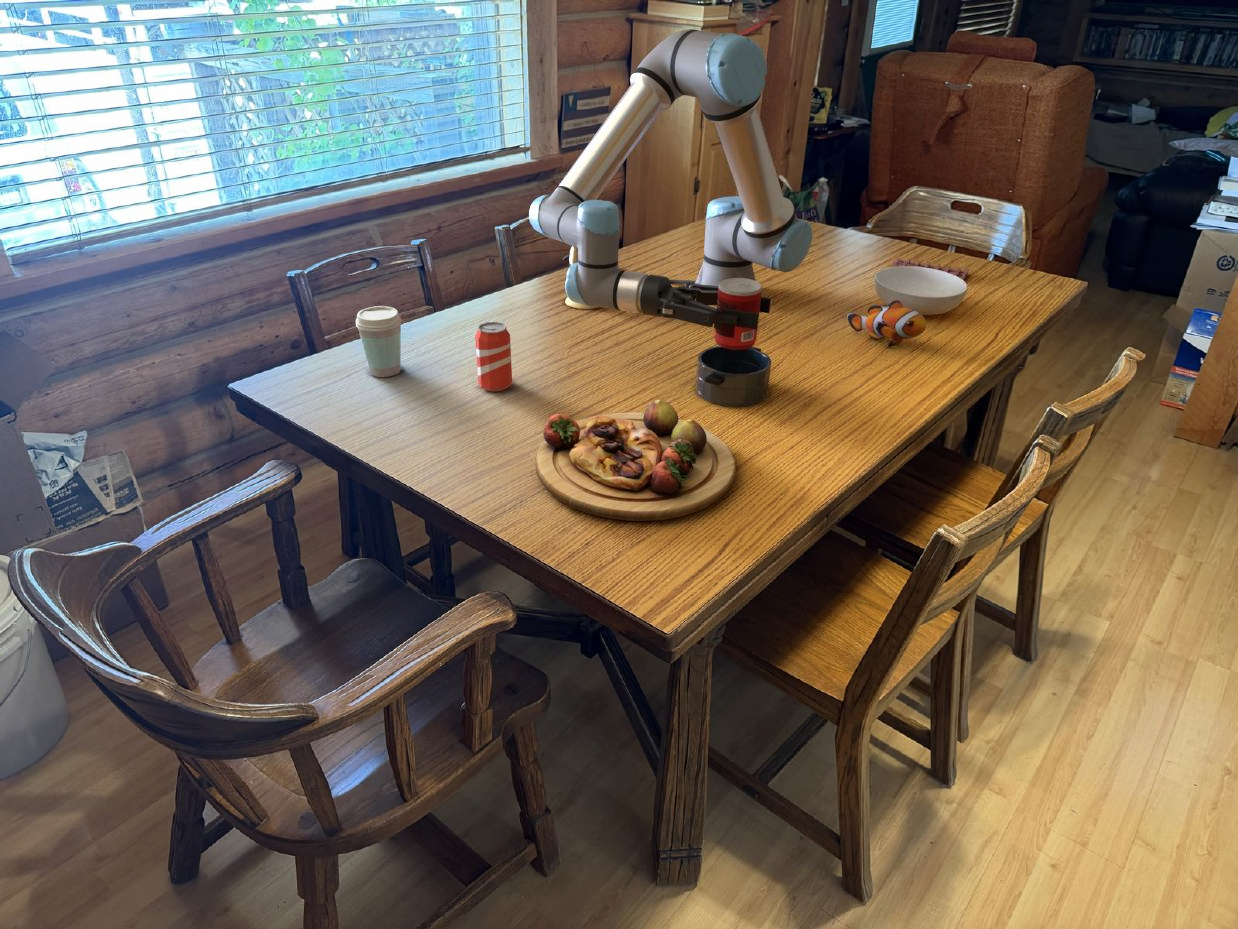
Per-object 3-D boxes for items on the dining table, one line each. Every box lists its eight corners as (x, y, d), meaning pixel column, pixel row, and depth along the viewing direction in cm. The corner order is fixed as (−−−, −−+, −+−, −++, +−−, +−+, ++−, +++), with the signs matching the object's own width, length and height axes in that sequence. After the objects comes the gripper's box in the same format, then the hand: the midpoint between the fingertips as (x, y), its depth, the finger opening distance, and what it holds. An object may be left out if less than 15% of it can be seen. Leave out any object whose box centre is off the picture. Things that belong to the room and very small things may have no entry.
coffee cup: (416, 367, 173) (410, 309, 167) (389, 383, 166) (381, 324, 160) (381, 358, 176) (373, 302, 170) (353, 375, 169) (344, 316, 163)
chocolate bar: (894, 263, 236) (895, 256, 235) (967, 275, 228) (969, 268, 227) (887, 270, 230) (889, 263, 229) (962, 283, 223) (963, 275, 222)
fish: (911, 358, 179) (915, 310, 175) (833, 342, 191) (835, 297, 187) (934, 345, 185) (939, 299, 181) (858, 331, 197) (860, 287, 193)
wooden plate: (494, 484, 136) (491, 438, 132) (604, 406, 160) (604, 365, 156) (675, 551, 122) (678, 501, 118) (766, 455, 146) (771, 410, 141)
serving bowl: (863, 316, 201) (868, 287, 198) (876, 288, 218) (881, 261, 215) (958, 330, 195) (965, 301, 191) (964, 300, 212) (970, 273, 208)
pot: (683, 394, 165) (685, 363, 161) (716, 369, 175) (718, 339, 171) (748, 413, 158) (752, 381, 155) (779, 386, 168) (783, 355, 165)
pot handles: (704, 382, 158) (705, 377, 158) (747, 349, 171) (748, 345, 171) (718, 386, 157) (719, 381, 156) (760, 353, 170) (761, 348, 169)
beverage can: (490, 376, 170) (487, 318, 164) (518, 383, 167) (515, 324, 161) (472, 388, 165) (467, 329, 159) (500, 396, 163) (497, 335, 157)
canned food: (759, 337, 164) (766, 280, 158) (750, 353, 157) (757, 294, 152) (719, 331, 166) (724, 275, 160) (709, 346, 159) (714, 288, 154)
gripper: (663, 296, 174) (775, 314, 167) (623, 331, 158) (746, 353, 150) (665, 259, 170) (780, 276, 163) (624, 291, 154) (750, 312, 146)
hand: (763, 313), depth 157 cm, fingers closed on canned food, 8 cm apart
